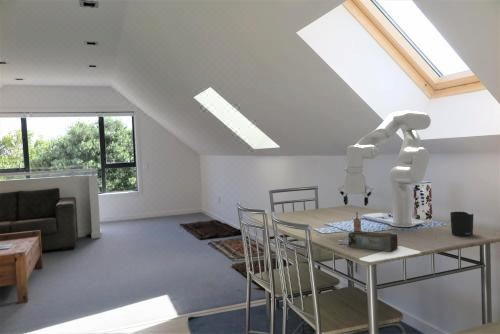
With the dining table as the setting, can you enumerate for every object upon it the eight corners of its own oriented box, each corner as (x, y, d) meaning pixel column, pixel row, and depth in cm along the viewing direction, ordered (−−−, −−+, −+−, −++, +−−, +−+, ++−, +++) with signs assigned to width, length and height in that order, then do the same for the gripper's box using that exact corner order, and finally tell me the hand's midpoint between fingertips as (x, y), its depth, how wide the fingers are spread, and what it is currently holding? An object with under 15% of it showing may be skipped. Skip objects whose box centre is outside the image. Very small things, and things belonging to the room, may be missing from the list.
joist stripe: (344, 236, 185) (344, 235, 185) (363, 237, 181) (363, 237, 181) (334, 244, 171) (334, 243, 171) (354, 245, 167) (354, 245, 167)
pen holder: (450, 235, 176) (449, 214, 176) (451, 231, 184) (450, 211, 184) (473, 237, 171) (473, 215, 171) (473, 233, 179) (473, 212, 179)
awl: (355, 232, 192) (354, 211, 192) (361, 232, 190) (361, 211, 190) (353, 233, 189) (352, 212, 189) (360, 234, 188) (359, 212, 187)
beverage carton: (355, 243, 172) (355, 228, 172) (398, 248, 160) (398, 233, 160) (348, 246, 166) (347, 232, 166) (392, 253, 154) (391, 236, 154)
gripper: (335, 171, 189) (336, 205, 190) (371, 170, 181) (372, 206, 181) (340, 170, 196) (340, 203, 197) (374, 170, 187) (375, 204, 188)
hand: (355, 204), depth 189 cm, fingers open, 9 cm apart
